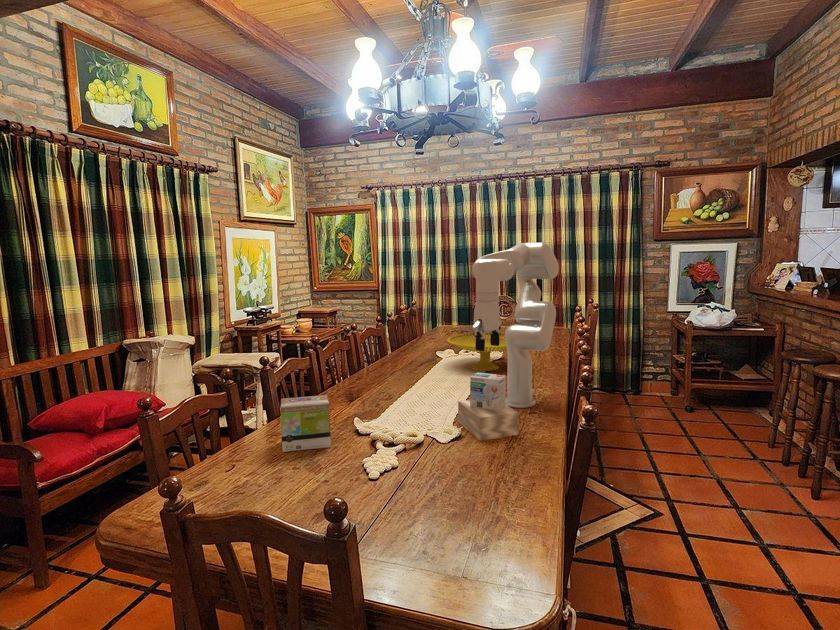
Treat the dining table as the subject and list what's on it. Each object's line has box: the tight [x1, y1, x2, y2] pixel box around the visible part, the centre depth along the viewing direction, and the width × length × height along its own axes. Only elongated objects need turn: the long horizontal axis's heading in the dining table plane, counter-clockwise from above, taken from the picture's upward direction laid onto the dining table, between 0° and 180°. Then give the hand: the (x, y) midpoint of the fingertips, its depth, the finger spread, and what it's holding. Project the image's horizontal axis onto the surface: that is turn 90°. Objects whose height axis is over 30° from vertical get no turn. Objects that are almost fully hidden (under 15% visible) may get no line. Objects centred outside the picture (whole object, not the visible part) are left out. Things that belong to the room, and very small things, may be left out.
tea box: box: [280, 394, 332, 453], centre depth 151 cm, size 15×10×15 cm
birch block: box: [457, 399, 519, 442], centre depth 163 cm, size 14×18×8 cm
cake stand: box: [445, 332, 507, 372], centre depth 246 cm, size 40×40×15 cm
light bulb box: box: [469, 372, 507, 411], centre depth 162 cm, size 11×7×11 cm, turn 61°
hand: (487, 347), depth 160 cm, fingers open, 9 cm apart
